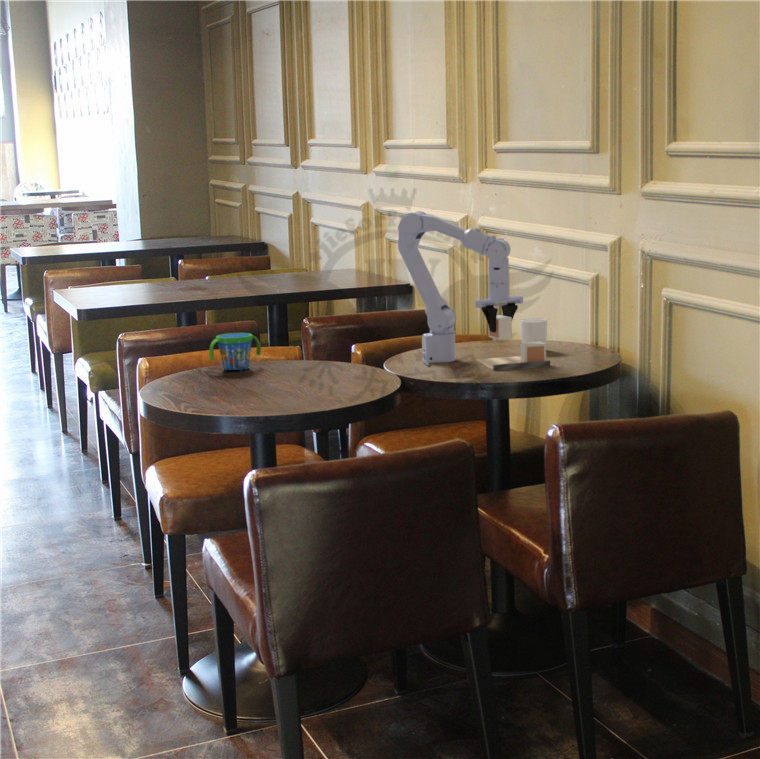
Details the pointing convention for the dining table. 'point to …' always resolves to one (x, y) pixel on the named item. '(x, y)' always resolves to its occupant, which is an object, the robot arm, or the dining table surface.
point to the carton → (502, 328)
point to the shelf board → (511, 363)
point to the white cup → (533, 330)
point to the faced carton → (533, 351)
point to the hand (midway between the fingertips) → (499, 331)
